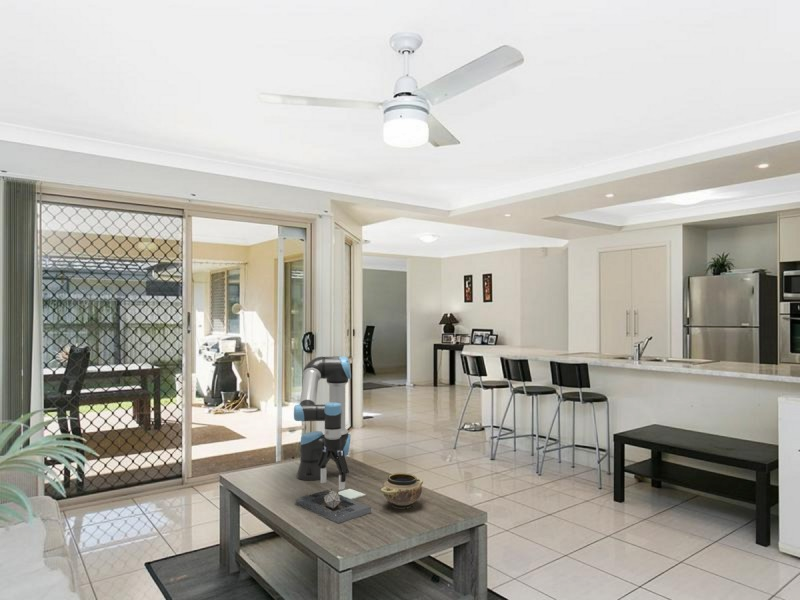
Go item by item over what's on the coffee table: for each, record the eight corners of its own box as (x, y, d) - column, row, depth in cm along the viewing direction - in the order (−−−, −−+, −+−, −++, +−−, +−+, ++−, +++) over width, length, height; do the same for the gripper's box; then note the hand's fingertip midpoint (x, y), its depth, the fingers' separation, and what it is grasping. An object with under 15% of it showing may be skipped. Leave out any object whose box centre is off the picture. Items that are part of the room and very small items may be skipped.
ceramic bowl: (390, 522, 232) (396, 490, 230) (366, 501, 245) (371, 471, 243) (431, 509, 248) (437, 479, 246) (406, 490, 262) (411, 462, 259)
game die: (336, 516, 242) (349, 499, 241) (323, 514, 236) (336, 497, 235) (328, 501, 249) (341, 485, 247) (315, 499, 243) (328, 482, 242)
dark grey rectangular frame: (295, 504, 247) (295, 498, 247) (327, 495, 260) (327, 489, 260) (338, 523, 224) (338, 517, 224) (371, 512, 237) (371, 506, 237)
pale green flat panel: (330, 495, 260) (330, 494, 260) (350, 489, 268) (350, 488, 268) (345, 501, 251) (345, 500, 251) (365, 495, 259) (365, 494, 259)
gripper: (309, 434, 249) (309, 481, 248) (343, 443, 231) (342, 493, 230) (323, 432, 254) (322, 478, 253) (356, 440, 236) (356, 490, 235)
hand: (332, 485), depth 242 cm, fingers open, 13 cm apart
